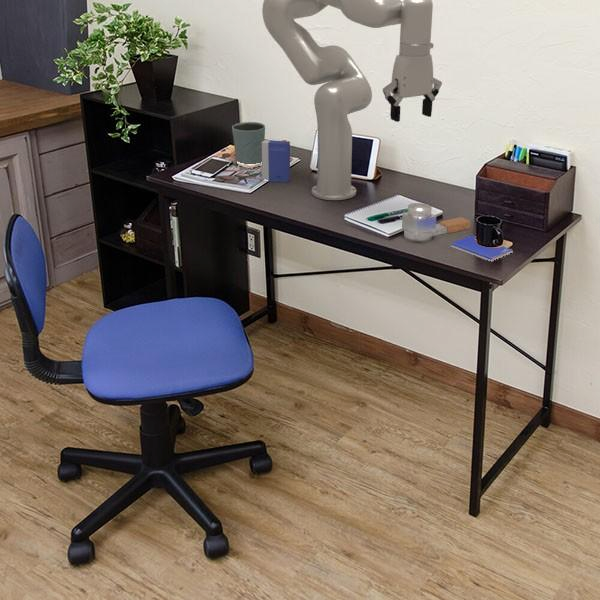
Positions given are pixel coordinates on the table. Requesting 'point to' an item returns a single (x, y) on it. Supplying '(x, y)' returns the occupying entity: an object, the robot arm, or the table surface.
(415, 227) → the frosted rounded block
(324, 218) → the table surface
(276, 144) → the walkman
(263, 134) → the green tapered cup
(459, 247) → the blue flat block
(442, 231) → the ratchet
